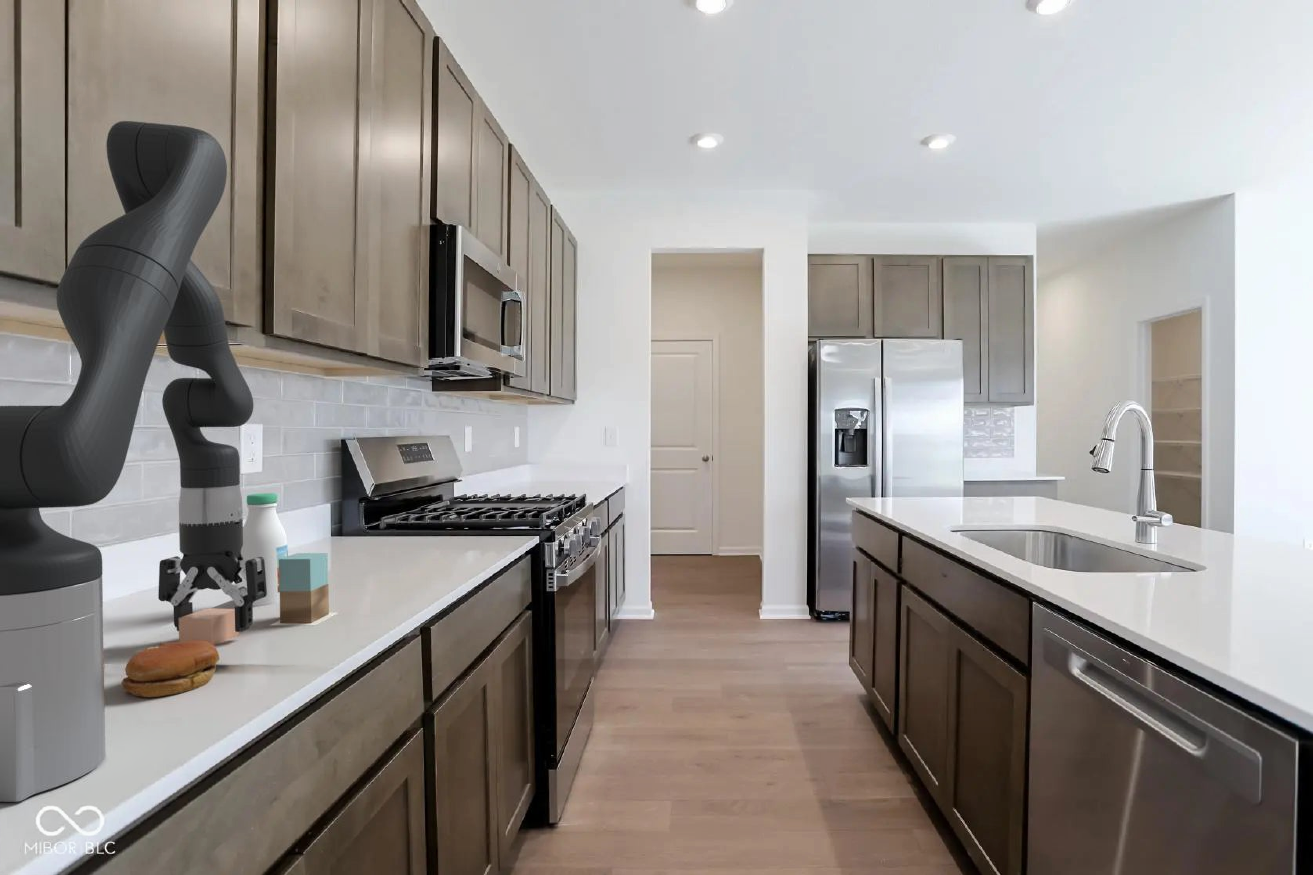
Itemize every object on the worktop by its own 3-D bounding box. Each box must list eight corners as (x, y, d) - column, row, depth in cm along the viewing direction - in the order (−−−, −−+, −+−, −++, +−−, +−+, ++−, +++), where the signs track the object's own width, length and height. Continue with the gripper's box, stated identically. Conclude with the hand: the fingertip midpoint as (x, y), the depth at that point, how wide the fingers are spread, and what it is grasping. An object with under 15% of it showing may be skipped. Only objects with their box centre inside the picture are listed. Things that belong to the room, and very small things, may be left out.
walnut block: (311, 623, 101) (311, 591, 101) (280, 623, 101) (279, 591, 101) (328, 614, 106) (328, 583, 106) (298, 614, 106) (298, 583, 106)
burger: (175, 701, 75) (175, 661, 75) (101, 699, 76) (100, 659, 76) (238, 670, 85) (238, 634, 85) (172, 669, 85) (171, 633, 85)
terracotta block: (211, 654, 90) (211, 618, 90) (179, 653, 91) (178, 617, 91) (238, 643, 95) (238, 609, 95) (208, 642, 96) (207, 608, 96)
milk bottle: (265, 613, 111) (263, 496, 110) (226, 611, 112) (225, 496, 112) (298, 602, 118) (297, 492, 118) (262, 600, 120) (260, 491, 119)
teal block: (310, 591, 101) (310, 559, 101) (279, 591, 101) (278, 559, 101) (327, 583, 106) (327, 553, 106) (297, 583, 106) (297, 553, 106)
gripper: (141, 521, 89) (144, 638, 90) (242, 521, 89) (244, 639, 89) (183, 514, 97) (185, 622, 97) (276, 514, 96) (278, 622, 97)
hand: (213, 630), depth 93 cm, fingers open, 8 cm apart
